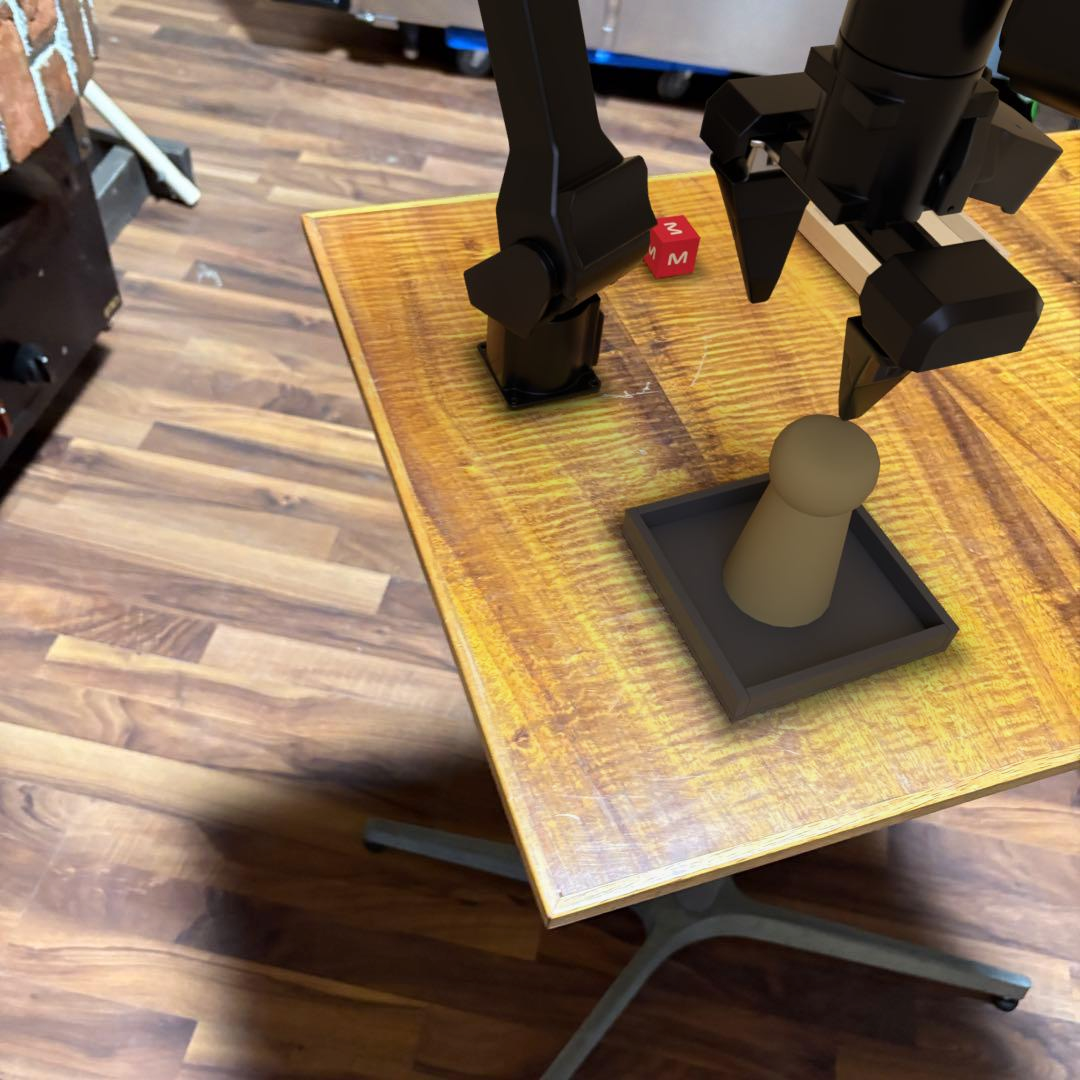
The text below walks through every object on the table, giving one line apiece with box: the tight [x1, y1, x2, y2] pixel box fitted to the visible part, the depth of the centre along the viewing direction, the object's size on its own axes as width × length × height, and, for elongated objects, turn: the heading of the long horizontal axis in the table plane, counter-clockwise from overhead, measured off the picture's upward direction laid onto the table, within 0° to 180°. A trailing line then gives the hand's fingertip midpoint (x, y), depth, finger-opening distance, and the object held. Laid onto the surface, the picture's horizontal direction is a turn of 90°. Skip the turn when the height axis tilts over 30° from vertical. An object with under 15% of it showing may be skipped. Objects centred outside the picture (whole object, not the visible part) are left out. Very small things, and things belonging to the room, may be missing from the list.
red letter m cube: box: [643, 214, 701, 279], centre depth 75 cm, size 3×3×3 cm
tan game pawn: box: [723, 413, 881, 627], centre depth 52 cm, size 6×6×11 cm
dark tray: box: [621, 471, 961, 723], centre depth 56 cm, size 13×13×2 cm
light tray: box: [797, 202, 1012, 296], centre depth 79 cm, size 12×10×2 cm
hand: (801, 356), depth 51 cm, fingers open, 9 cm apart
